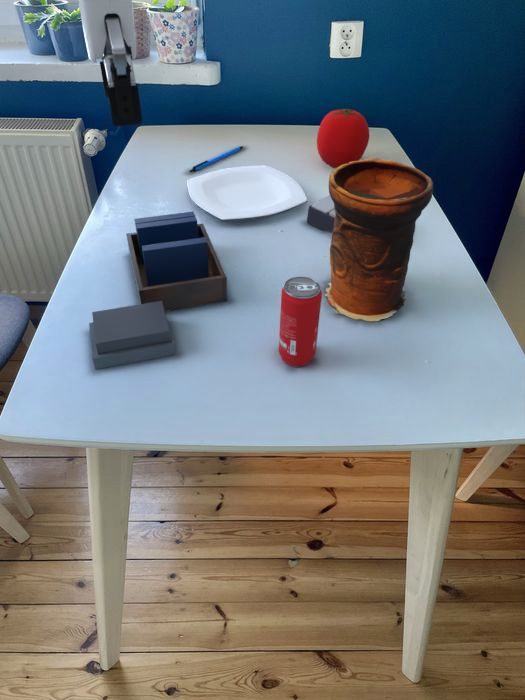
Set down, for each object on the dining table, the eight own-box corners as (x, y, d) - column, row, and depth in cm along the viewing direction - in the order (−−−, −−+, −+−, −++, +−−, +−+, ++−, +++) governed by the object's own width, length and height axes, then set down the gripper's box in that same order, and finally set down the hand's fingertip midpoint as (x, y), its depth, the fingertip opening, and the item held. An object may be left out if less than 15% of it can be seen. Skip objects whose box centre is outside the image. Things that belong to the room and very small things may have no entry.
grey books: (95, 369, 74) (89, 347, 71) (91, 333, 79) (86, 311, 77) (174, 354, 76) (172, 333, 74) (166, 320, 82) (163, 299, 79)
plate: (321, 211, 109) (322, 202, 107) (215, 235, 101) (215, 226, 100) (270, 168, 124) (270, 159, 123) (174, 186, 116) (173, 177, 115)
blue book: (148, 288, 87) (142, 251, 82) (147, 283, 88) (141, 245, 84) (209, 279, 89) (207, 242, 85) (207, 273, 90) (204, 237, 86)
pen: (188, 172, 122) (188, 168, 121) (241, 147, 133) (241, 143, 132) (191, 174, 121) (191, 169, 121) (244, 148, 133) (244, 144, 132)
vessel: (303, 279, 91) (312, 164, 77) (377, 264, 94) (398, 151, 81) (341, 331, 81) (360, 208, 67) (423, 312, 84) (456, 192, 71)
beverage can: (276, 345, 78) (279, 276, 70) (311, 343, 78) (318, 274, 70) (280, 369, 74) (284, 299, 66) (317, 368, 75) (325, 298, 67)
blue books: (142, 265, 92) (136, 228, 87) (140, 254, 95) (134, 218, 90) (200, 256, 94) (197, 220, 90) (196, 246, 97) (193, 211, 92)
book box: (142, 315, 83) (138, 290, 80) (130, 256, 95) (126, 233, 92) (227, 301, 86) (226, 277, 83) (204, 246, 98) (203, 223, 95)
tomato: (333, 179, 120) (339, 121, 112) (304, 160, 128) (308, 104, 119) (376, 168, 125) (386, 112, 116) (347, 151, 132) (353, 96, 124)
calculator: (374, 234, 95) (307, 202, 102) (369, 254, 98) (305, 223, 105) (406, 212, 101) (341, 184, 108) (401, 232, 104) (338, 203, 111)
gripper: (52, -84, 57) (86, 90, 68) (54, -69, 44) (95, 140, 56) (125, -84, 58) (145, 85, 70) (146, -70, 46) (167, 133, 57)
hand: (123, 109), depth 63 cm, fingers open, 9 cm apart
